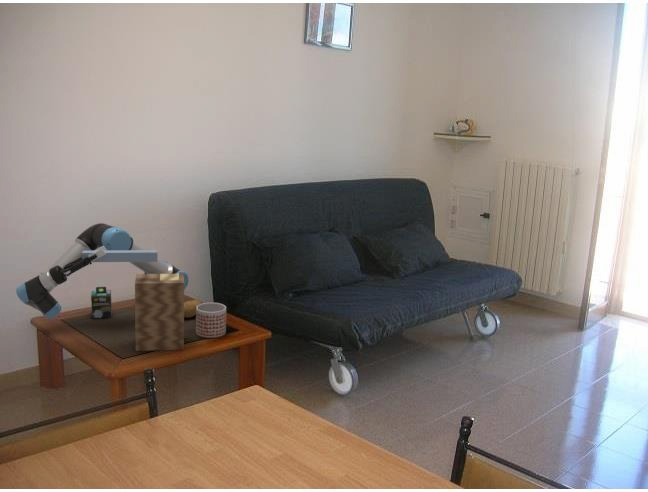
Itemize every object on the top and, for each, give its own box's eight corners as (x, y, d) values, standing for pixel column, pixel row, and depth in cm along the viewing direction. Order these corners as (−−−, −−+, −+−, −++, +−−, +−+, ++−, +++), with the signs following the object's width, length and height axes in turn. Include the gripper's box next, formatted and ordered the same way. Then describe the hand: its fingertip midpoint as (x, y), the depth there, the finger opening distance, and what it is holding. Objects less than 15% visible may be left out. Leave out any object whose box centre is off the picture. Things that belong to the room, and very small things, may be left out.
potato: (206, 315, 323) (207, 300, 321) (185, 322, 312) (185, 306, 310) (193, 310, 328) (193, 295, 327) (171, 317, 317) (171, 302, 315)
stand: (135, 350, 275) (134, 283, 268) (137, 338, 289) (136, 274, 282) (183, 349, 280) (184, 282, 273) (183, 337, 293) (183, 273, 286)
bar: (82, 262, 267) (81, 252, 266) (83, 259, 270) (83, 250, 269) (157, 261, 273) (157, 252, 272) (157, 259, 277) (157, 250, 276)
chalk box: (111, 311, 321) (111, 283, 318) (111, 317, 312) (111, 288, 309) (92, 312, 318) (91, 283, 315) (91, 318, 310) (90, 289, 306)
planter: (191, 330, 303) (192, 304, 300) (219, 326, 309) (220, 301, 306) (201, 340, 291) (201, 313, 288) (230, 336, 298) (230, 310, 295)
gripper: (44, 275, 258) (97, 247, 260) (52, 264, 274) (101, 237, 276) (55, 291, 260) (107, 262, 262) (62, 278, 277) (111, 252, 279)
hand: (104, 250), depth 269 cm, fingers closed on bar, 4 cm apart
